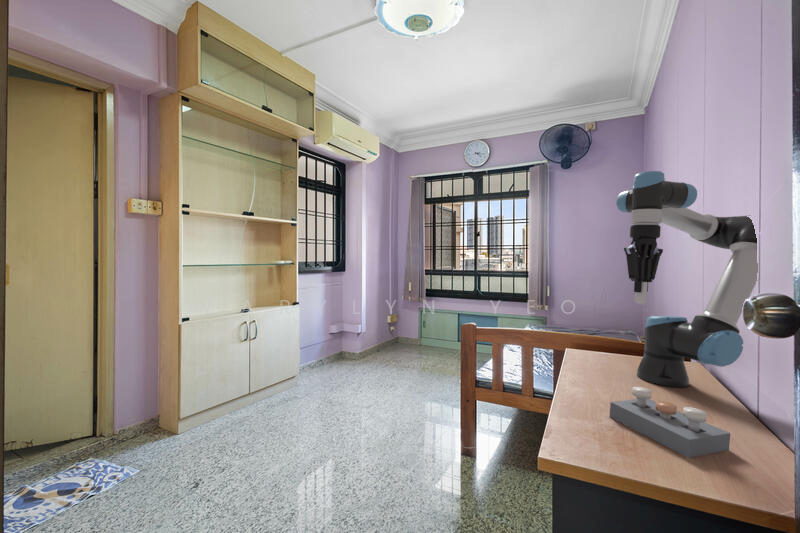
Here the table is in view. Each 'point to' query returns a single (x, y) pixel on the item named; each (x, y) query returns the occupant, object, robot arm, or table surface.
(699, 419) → the plunger
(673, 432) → the console
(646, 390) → the plunger
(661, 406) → the terracotta plunger
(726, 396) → the table surface
